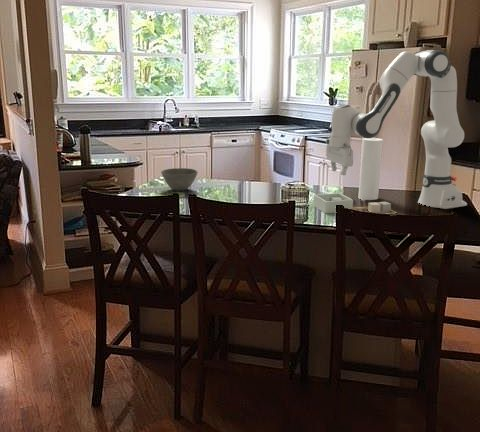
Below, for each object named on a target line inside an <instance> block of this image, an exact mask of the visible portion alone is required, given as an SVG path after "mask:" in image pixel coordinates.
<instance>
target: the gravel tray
mask: <svg viewBox="0 0 480 432" xmlns="http://www.w3.org/2000/svg"><path fill="white" fill-rule="evenodd" d="M357 209H359V210H362V209H368V206H361V207H360V206H358V207H357V206H356V207H353V210H357ZM390 212H392V213H386V214H395V213H397V214H398V212H397V211H394V210H393V209H391V210H390Z"/></svg>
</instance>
